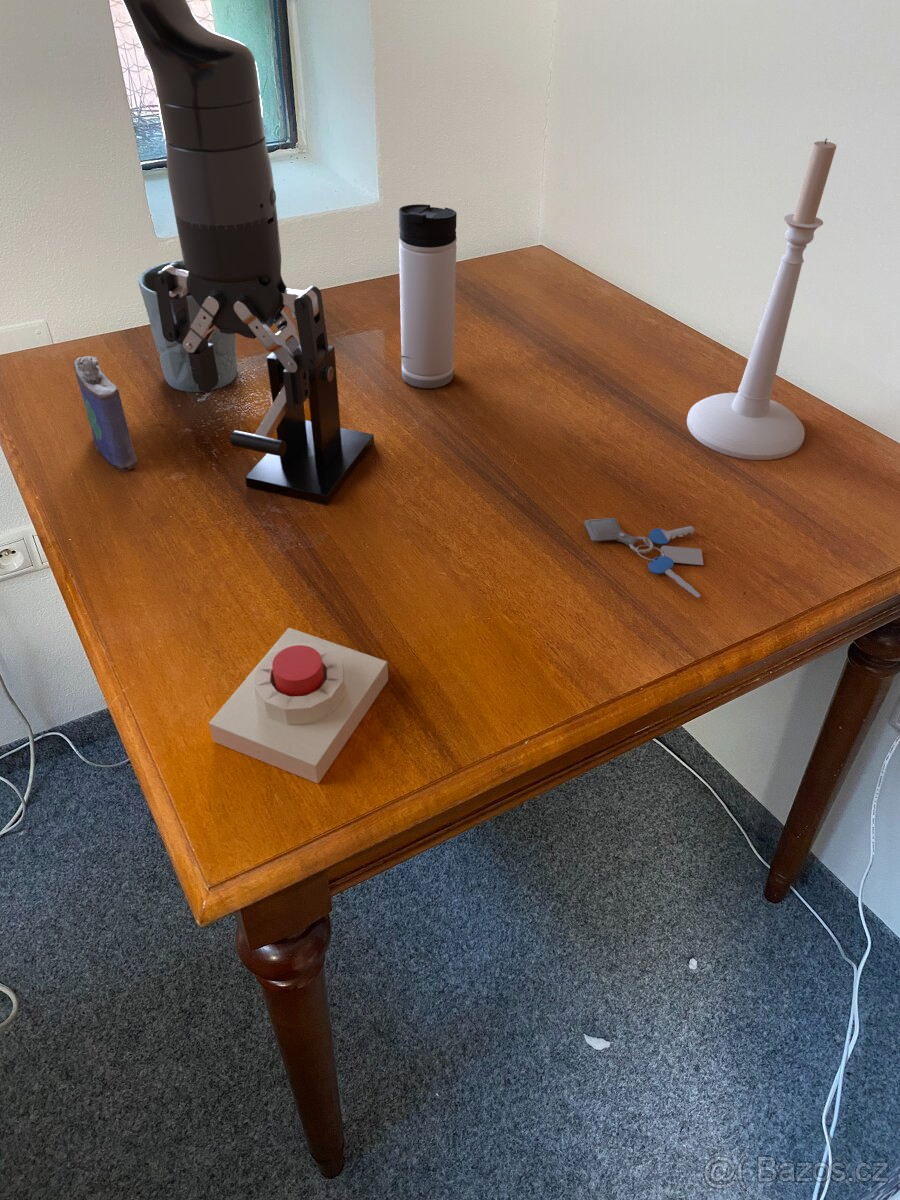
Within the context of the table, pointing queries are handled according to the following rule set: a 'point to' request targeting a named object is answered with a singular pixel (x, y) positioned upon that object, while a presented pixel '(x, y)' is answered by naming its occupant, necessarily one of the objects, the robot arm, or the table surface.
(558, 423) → the table surface
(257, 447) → the lever
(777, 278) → the candlestick
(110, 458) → the blue squeeze pouch
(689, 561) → the key chain
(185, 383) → the grey hollow tapered cylinder
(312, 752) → the button box
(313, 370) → the bracket
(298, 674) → the button
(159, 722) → the table surface
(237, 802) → the table surface
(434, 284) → the travel mug
